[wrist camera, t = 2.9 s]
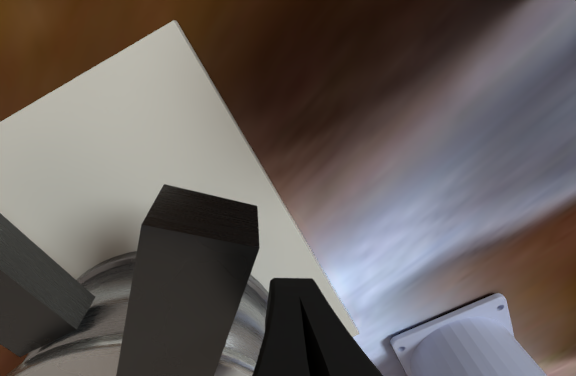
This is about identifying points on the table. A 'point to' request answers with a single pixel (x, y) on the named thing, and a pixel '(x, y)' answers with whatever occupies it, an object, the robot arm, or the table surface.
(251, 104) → the table surface
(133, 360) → the lid
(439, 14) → the table surface
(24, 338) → the pot
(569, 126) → the table surface
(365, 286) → the table surface
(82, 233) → the plate
